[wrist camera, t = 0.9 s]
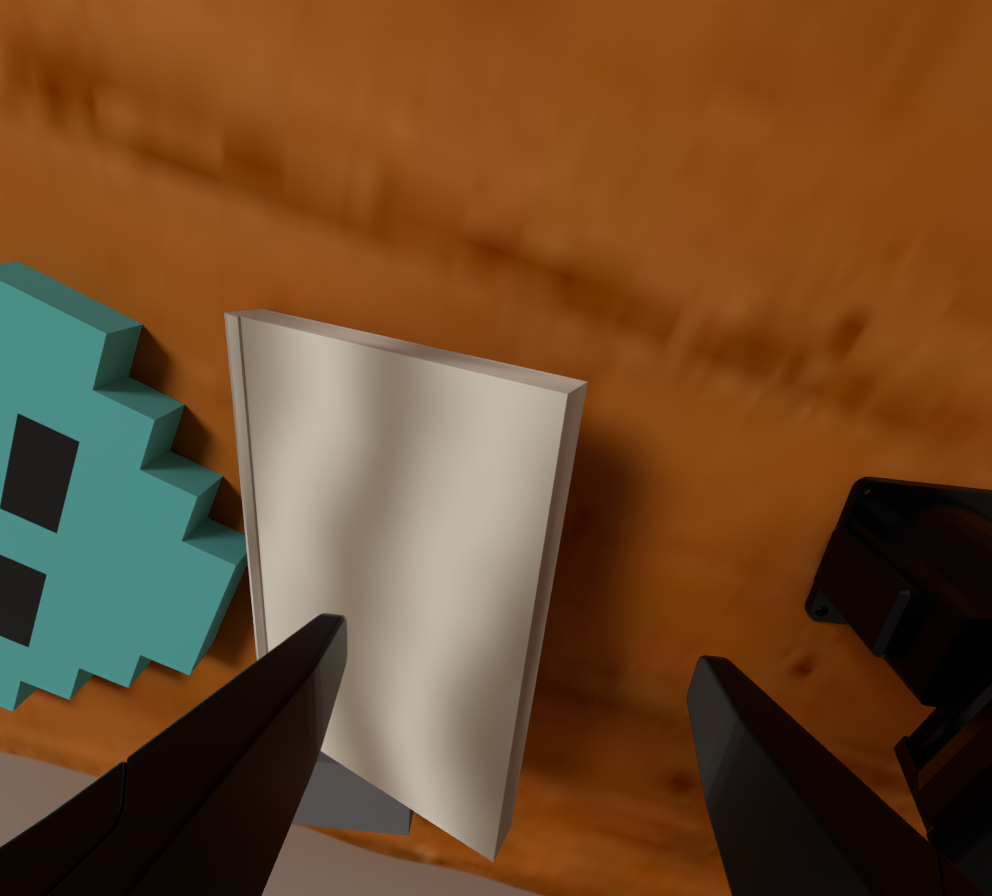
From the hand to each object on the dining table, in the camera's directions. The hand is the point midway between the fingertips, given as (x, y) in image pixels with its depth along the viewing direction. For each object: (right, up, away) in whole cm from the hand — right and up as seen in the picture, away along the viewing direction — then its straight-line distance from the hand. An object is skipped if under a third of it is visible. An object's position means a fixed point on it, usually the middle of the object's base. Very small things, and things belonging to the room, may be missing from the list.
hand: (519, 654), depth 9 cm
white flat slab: (-4, -2, +11) cm, 12 cm away
